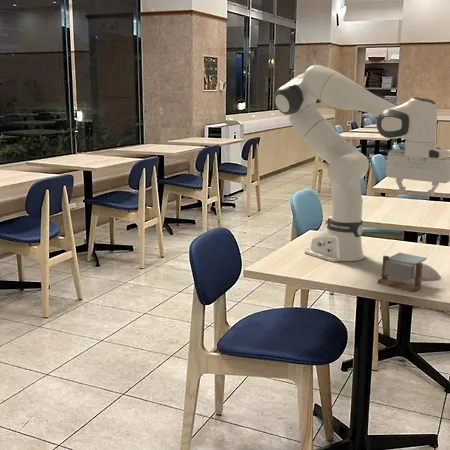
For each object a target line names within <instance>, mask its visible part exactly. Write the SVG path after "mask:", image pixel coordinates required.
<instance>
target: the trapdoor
mask: <svg viewBox="0 0 450 450" xmlns="http://www.w3.org/2000/svg"><path fill="white" fill-rule="evenodd" d="M426 260H427V257H423V256H418V255H414V254H408V253H403V252H397V253H396V254H393V255H391V256H389V258H388V260H387V261H385V273H384V275H388V276H390V277H394V278H398V279H403V280H407V281H411V280H412V279H414V278H413V277H414V265H416V263H418V262H419V263H423V262H424V261H426Z"/></svg>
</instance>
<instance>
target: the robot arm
mask: <svg viewBox="0 0 450 450" xmlns="http://www.w3.org/2000/svg"><path fill="white" fill-rule="evenodd" d="M273 102H274V105H275V107H276V109H277V110H278V111H279V112H280V113H281V114H283V115H285V116H288V115H289V116H288V120H289V123H290V124H291V126H292V128H293V129H294V131H295V132H296V133H297V135H298V136H299V137H300V138H301V139H302V140H303V142H304V143H305V144H306V145H307V147H309V148H310V150H311V151H312V152H313V153H314V154H315V155H316V156H317V157H320V158H321V159H323V160H324V161H325V162H326V163H327V164H328V167H327V176H328V178H329V182H330V191H331V216H330V217H331V218H328V219H327V220H325V221H324V225H327V226H326V228H324V229H323V230H320V231H319V232H318V233H317V234H315V235H314V236H313V237H312V239H311V241H310V246H308V247H306V248H304V254H306V255H310V256H313V257H316V258H320V259H323V260H326V261H329V262H333V263H335V262H355V261H356V262H357V261H360V260H362V259H364V258H365V256H364V255H365V254H364V251H363V246H362V234H363V227H364V226H363V223H364V221H363V219H362V216H363V202H364V199H363V197H362V190H361V179H363V178H365V176H366V175H367V172H368V170H369V166H370V163H369V159H368V157H367V156H366V155H364V153H362V152H360V150H358V149H357V148H356V147H355V146H354V145H353V144H352V143H350V142H349V141H348V140H347V139H345V138H344V137H343V136H342V135H341V134H340V133H339V132H338V131H337V130H336V129H335V128H334V127H333V125H331V124H330V122H329V121H328V120H327V119H326V118H325V117H324V116H323V115H322V114H321V113H320V112H319V110H318V109H317V104H319V103H321V102H322V103H323V104H325V105H327V106H329V107H332V108H335V109H337V110H341V111H342V110H343V111H347V110H348V111H361V112H365V113H367V114H370V115H372V116H373V117H376V118H377V120H376V129H377V132H378V133H379V135H380V136H382V137H383V138H386V139H392V140H393V139H401V138H404V139H405V144H404V149H398V148H392V149H391V150H389V152H388V153H387V164H386V170H385V174H386V177H387V178H389V179H391V178H392V179H395V182H396V184H397V186H398V193H400V194H401V193H402V194H404V193H406V189H407V188H406V186H404V185H403V181H404V180H412V181H418V182H419V181H420V182H430V183H431V186H432V187H431V189H428V190H427V197H434V196H435V192H436V191H435V190H436V189H437V188H438V187H439V186H440V184H447V183H449V182H450V150H449V149H446V148H444V147H442V146H439V145H436V137H435V136H436V135H435V133H436V129H437V125H438V108H437V103H436V102H435V100H432V98H431V99H430V98H426V97H419V96H415V97H411V98H410V99H409V100H408V101H406V102H404V103H402V104H400V105H397V104H395V103H393V102H391V101H390V100H389V101H388V100H387V99H385V98H383V97H380V96H379V95H377V94H374V93H372V92H371V91H369V90H367V89H366V88H365V87H363V86H361V85H359V84H358V83H356V82H355V81H354V80H352V79H350V78H349V77H347V76H345V75H344V74H342V73H340V72H339V71H337V70H334V69H332V68H330V67H326V66H324V65H320V64H313V65H311V66H309V67H308V68H306V70H305V71H304V72H303V73H301V74H299V75H296V76H295V77H293V78H292V79H291V80H289V81H288V82H287V83H285V84H283V85H280V87H278V89H277V90H276V91H275V93H274V95H273Z"/></svg>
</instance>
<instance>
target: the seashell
mask: <svg viewBox="0 0 450 450" xmlns="http://www.w3.org/2000/svg"><path fill="white" fill-rule="evenodd" d="M415 274H416V265H414V277H413V279H415ZM440 278H441V275H440V273H439V272H438V271H437V270H436V269H434V268H433V267H431V266H430V265H428V264H426V263H423V264H422V275H421V281H426V282H427V281H430V282H431V281H432V282H434V281H438V280H439V279H440Z"/></svg>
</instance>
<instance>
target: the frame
mask: <svg viewBox="0 0 450 450" xmlns="http://www.w3.org/2000/svg"><path fill="white" fill-rule="evenodd" d="M389 257H390V256H388V255H384V256H383V257H382V270H381V278H379V279H377V284H379V285H383V286H386V285H387V287H390V288H395V287H396V288H395V289H400V290H404V291H408V292H412V293H416V292H417V291H419V290H421V285H422V280H421V275H422V264H424V263H423V262H421V263H419V262H418V263H416V274H415V278H414V284H410V283H405V282H401V281H396V280H392V279H388V276H389V275H384V273H385V261H387V260H388V258H389Z"/></svg>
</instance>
